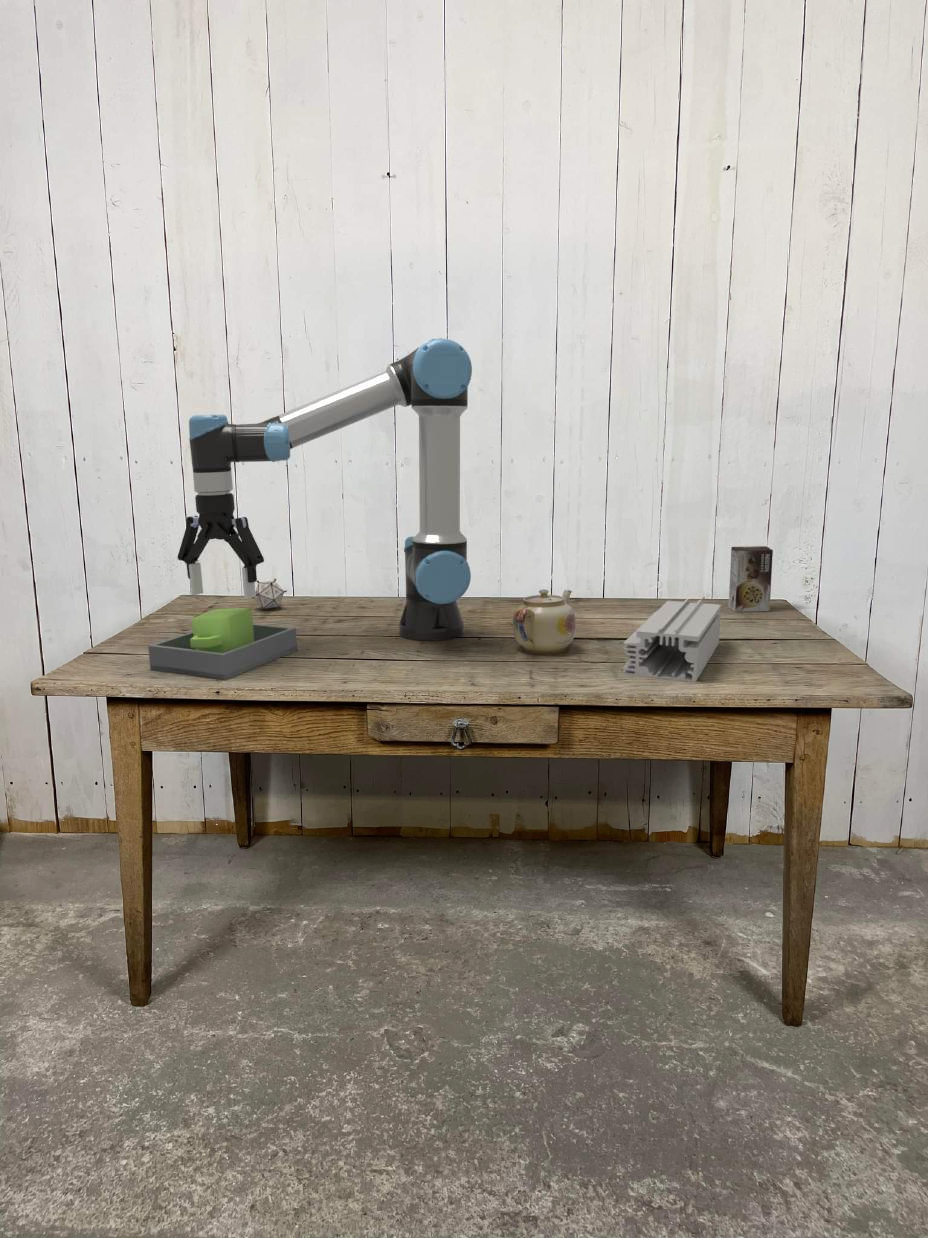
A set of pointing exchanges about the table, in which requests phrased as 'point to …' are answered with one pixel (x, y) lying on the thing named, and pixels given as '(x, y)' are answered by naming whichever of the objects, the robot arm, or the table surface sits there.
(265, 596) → the game die
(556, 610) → the teapot
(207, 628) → the green handled block
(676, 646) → the aluminum extrusion profile
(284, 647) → the gray tray
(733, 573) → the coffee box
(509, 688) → the table surface
